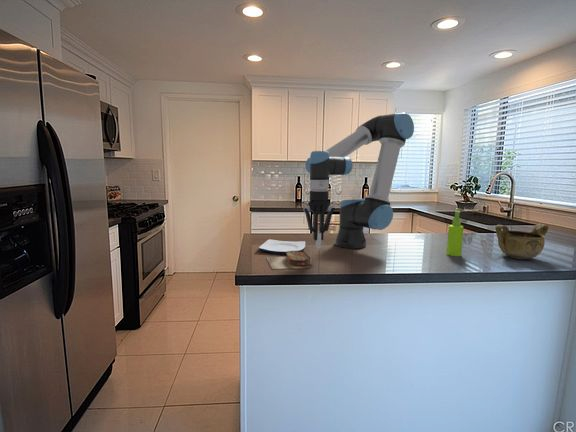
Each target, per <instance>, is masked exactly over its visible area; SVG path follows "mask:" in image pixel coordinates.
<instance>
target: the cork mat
mask: <svg viewBox="0 0 576 432" xmlns="http://www.w3.org/2000/svg"><path fill="white" fill-rule="evenodd" d="M265 259H266V261H267V263H268V264H269V266H270V268H271V270H272V271H273V270H293V269H295V270H296V269H311V268H312V267H311V265H310V264H309V265H307V266H293V265H291V264H290V263H289V262H288V260H287V258H286V256H274V257H273V256H272V257H271V256H270V257H265Z"/></svg>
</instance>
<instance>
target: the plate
mask: <svg viewBox="0 0 576 432" xmlns="http://www.w3.org/2000/svg"><path fill="white" fill-rule="evenodd" d="M305 248H306V241H304V240H303V241H302V240H301V241H299V240H298V241H287V240H286V241H285V240H276V239H267V240H266V241H265V242H263V243H262V244H261V245H260V246H259V247H258V250H259V251H262V252H266V253H270V254H277V255H278V254H279V255H286V252H288V251H304V249H305Z"/></svg>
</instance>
